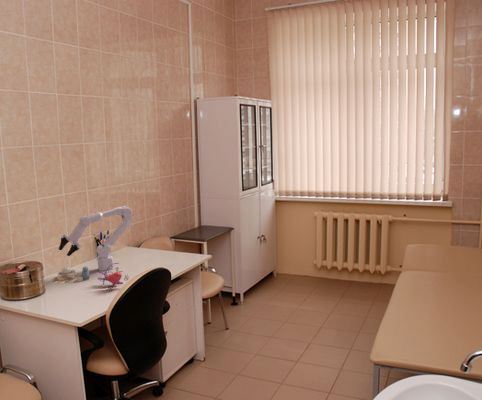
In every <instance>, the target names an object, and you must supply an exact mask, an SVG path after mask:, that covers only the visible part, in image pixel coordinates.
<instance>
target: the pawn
mask: <svg viewBox="0 0 482 400" xmlns="http://www.w3.org/2000/svg"><path fill="white" fill-rule="evenodd" d="M81 274H82V279H83V280H86V281H90V280H91V279H90V278H91V277H90V270H89V267H87V266H84V267H82V271H81ZM89 279H90V280H89Z"/></svg>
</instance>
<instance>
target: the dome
mask: <svg viewBox="0 0 482 400" xmlns="http://www.w3.org/2000/svg"><path fill="white" fill-rule="evenodd" d="M71 270H72V268H71V267H69V266H65V267H63V268H62V269H61V270H60V271H61V273H62V274H71Z"/></svg>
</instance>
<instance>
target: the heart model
mask: <svg viewBox="0 0 482 400" xmlns="http://www.w3.org/2000/svg"><path fill="white" fill-rule="evenodd" d="M119 264H120V263H119V262H116V263H115V262H113V264H112V265H119ZM110 266H111V265H110ZM110 266H109V267H110ZM109 267H108V268H109ZM108 268H107V269H106V270H104V271H100V270H98V271H99V272H98V273H99V274H101V275H103V276H104V277H102V276H99V277H97V280H98V281H100V282H103V283H102V285H103V286H105V282H109V283H111V284H110V286H109V287H108V288H107V290H108V291H113V289H114V287H113V286H116V285H124V282H125V281H126V282H127V281H128V280H129V277H128V275H127V274H125V275H124V282H122V281H120V280H122V277H123V275H122V273H123V271H122V270H119V269H120V268H119V267H118V266H117V267H115V269H114V270H115V272H113V271H111V273H110V270H108Z"/></svg>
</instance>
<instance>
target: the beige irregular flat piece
mask: <svg viewBox="0 0 482 400" xmlns="http://www.w3.org/2000/svg"><path fill="white" fill-rule="evenodd" d="M61 271H62V270H60V271H59V272H58V273H57V280H56V281H55V282H54V285H57V284H58V285H59V284H65V283H66V284H67V283H75V282H85V281H87V280H83V278H75V277H76V275H77V273H76V269H71V274H62V273H61ZM91 279H92V278H91V277H90V279H89V280H88V281H91Z"/></svg>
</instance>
